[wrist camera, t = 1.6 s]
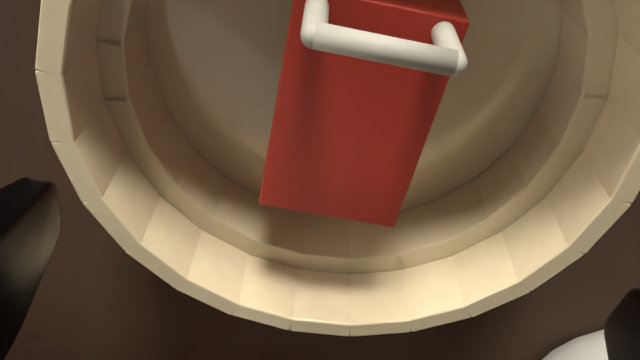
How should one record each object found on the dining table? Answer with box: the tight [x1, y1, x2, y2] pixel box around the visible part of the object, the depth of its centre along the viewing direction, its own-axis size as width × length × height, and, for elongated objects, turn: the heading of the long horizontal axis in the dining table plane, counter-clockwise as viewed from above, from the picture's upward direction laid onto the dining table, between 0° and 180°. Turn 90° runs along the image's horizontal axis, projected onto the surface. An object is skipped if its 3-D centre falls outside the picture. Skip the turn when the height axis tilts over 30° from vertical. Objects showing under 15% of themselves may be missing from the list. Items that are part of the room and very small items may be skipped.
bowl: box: [35, 0, 640, 337], centre depth 17 cm, size 16×16×6 cm
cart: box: [259, 0, 470, 227], centre depth 17 cm, size 7×4×6 cm, turn 169°
